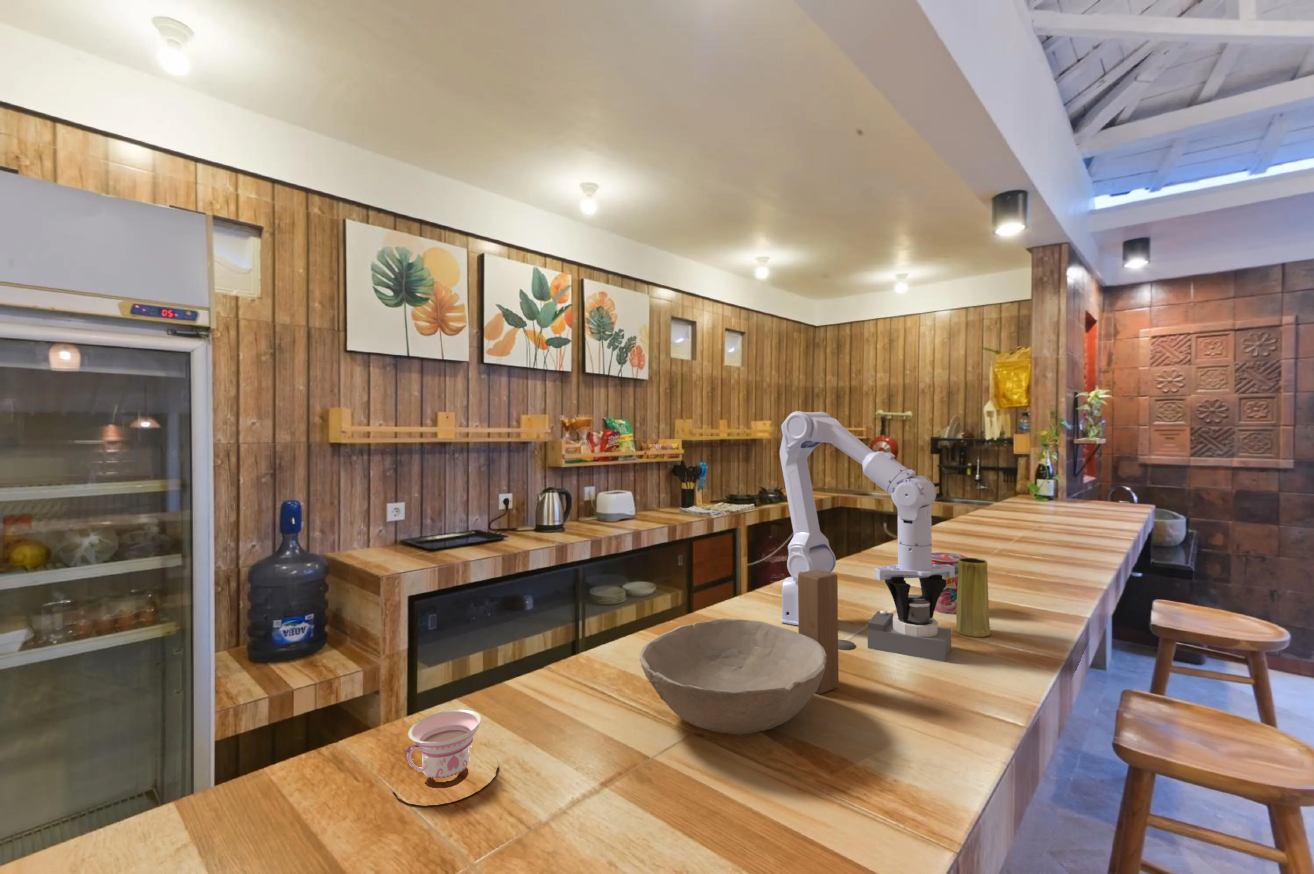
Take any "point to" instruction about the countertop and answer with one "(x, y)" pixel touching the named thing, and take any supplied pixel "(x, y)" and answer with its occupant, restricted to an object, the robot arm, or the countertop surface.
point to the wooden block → (820, 619)
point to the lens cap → (845, 645)
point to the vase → (972, 598)
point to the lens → (918, 610)
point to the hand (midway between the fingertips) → (915, 617)
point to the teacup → (443, 742)
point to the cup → (948, 582)
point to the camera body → (908, 637)
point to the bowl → (734, 673)
